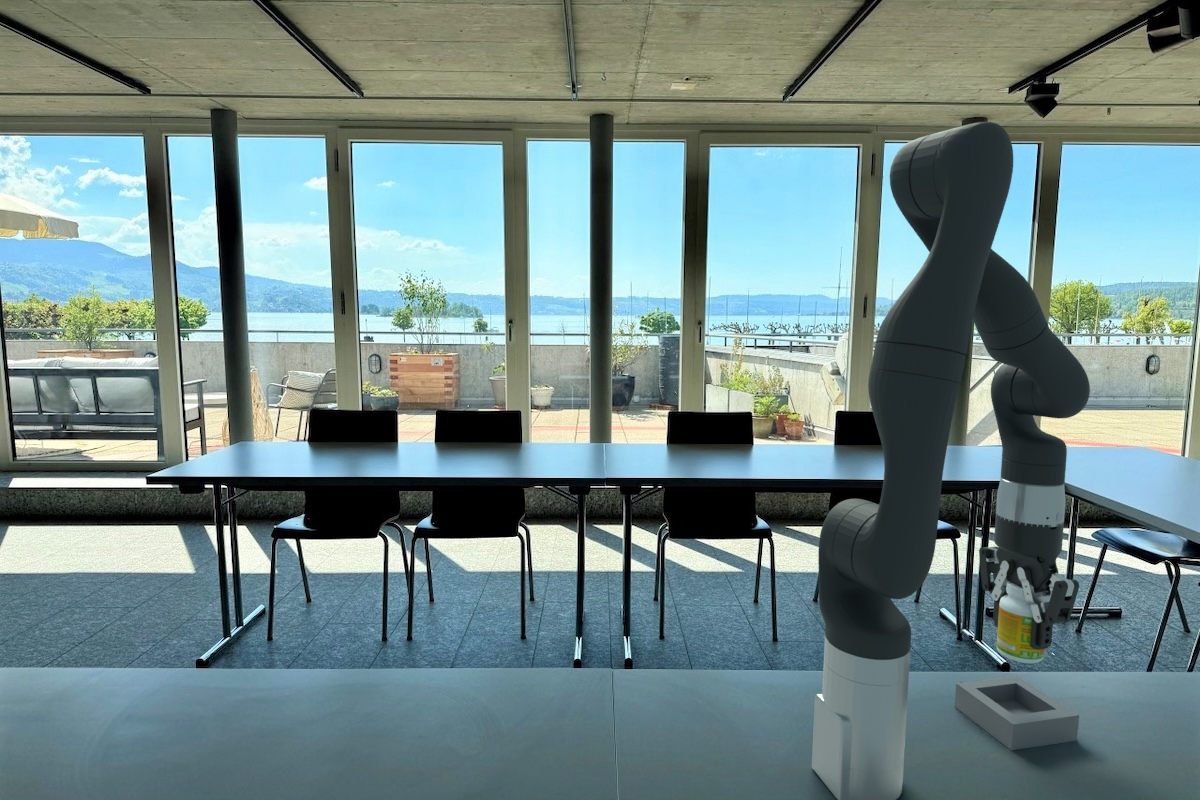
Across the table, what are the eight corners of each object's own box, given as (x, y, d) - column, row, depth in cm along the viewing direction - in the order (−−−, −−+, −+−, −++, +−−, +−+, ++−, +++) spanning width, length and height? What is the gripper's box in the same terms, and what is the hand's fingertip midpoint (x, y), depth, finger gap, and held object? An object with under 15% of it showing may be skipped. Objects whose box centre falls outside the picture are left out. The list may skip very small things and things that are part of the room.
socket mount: (1011, 750, 86) (1013, 724, 85) (954, 706, 96) (956, 683, 95) (1076, 740, 88) (1079, 715, 87) (1014, 698, 98) (1016, 675, 97)
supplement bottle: (1020, 667, 87) (1025, 594, 86) (986, 647, 92) (991, 579, 91) (1053, 661, 89) (1059, 590, 88) (1018, 642, 94) (1023, 575, 93)
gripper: (964, 501, 94) (957, 617, 97) (1052, 532, 81) (1042, 667, 83) (1010, 498, 96) (1002, 612, 98) (1104, 528, 82) (1093, 660, 84)
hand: (1020, 636), depth 90 cm, fingers closed on supplement bottle, 5 cm apart
